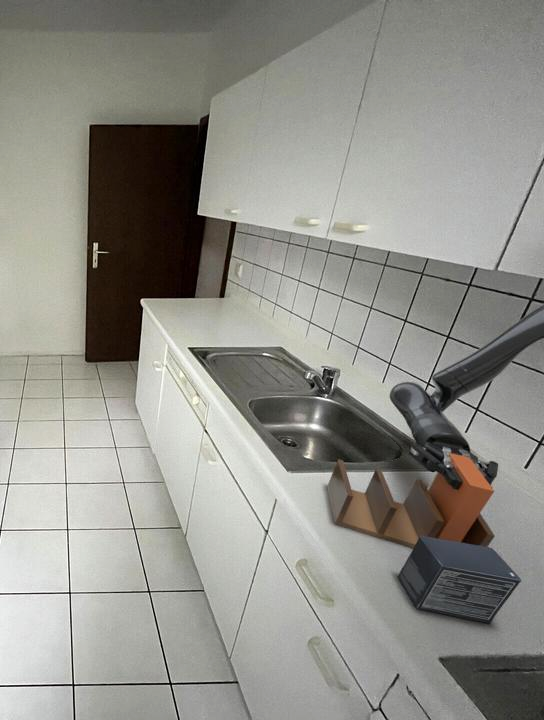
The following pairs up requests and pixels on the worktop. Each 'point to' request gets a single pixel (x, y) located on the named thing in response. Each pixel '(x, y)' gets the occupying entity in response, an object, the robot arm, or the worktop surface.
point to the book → (459, 498)
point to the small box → (457, 579)
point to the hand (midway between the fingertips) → (472, 488)
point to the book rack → (393, 511)
